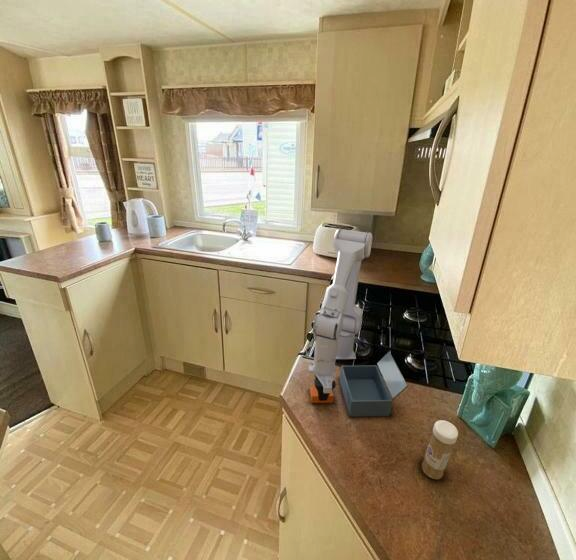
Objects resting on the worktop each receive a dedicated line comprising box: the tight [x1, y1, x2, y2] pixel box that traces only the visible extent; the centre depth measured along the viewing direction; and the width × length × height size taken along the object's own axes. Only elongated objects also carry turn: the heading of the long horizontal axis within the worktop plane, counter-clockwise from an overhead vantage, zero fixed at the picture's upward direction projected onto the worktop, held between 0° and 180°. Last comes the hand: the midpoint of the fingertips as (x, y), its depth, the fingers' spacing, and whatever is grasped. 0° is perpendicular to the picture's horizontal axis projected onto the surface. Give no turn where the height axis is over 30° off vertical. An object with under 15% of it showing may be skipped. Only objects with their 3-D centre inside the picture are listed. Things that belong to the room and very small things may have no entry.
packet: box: [309, 385, 334, 404], centre depth 88 cm, size 6×4×2 cm, turn 93°
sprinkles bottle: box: [421, 419, 459, 480], centre depth 67 cm, size 5×5×14 cm
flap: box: [376, 351, 409, 400], centre depth 86 cm, size 14×5×1 cm
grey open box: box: [339, 364, 394, 418], centre depth 88 cm, size 14×11×5 cm
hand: (321, 393), depth 88 cm, fingers closed on packet, 4 cm apart
